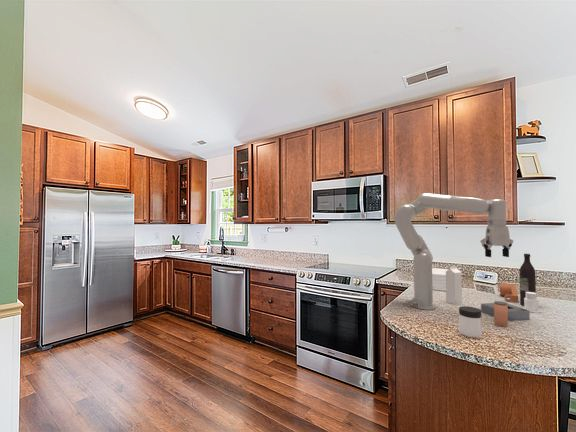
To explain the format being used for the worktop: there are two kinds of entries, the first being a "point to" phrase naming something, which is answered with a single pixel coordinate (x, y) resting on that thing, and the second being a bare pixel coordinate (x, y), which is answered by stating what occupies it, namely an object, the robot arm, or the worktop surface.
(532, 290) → the wine bottle
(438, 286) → the plate stack
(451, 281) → the milk
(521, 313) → the bore housing
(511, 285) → the crank
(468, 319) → the jar
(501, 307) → the orange grey-topped cylinder
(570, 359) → the worktop surface
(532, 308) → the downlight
